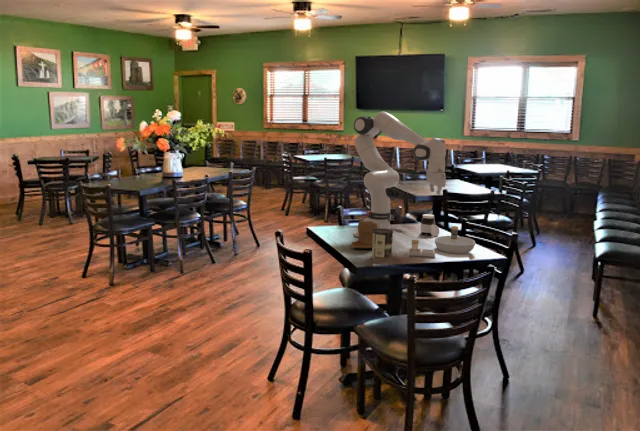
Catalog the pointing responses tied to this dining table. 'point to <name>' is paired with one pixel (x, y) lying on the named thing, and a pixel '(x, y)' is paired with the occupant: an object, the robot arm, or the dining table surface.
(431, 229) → the spread jar
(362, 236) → the wooden napkin holder
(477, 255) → the dining table surface
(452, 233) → the fuse
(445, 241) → the serving bowl
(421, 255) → the fuse block
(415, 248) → the fuse
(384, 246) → the coffee can
